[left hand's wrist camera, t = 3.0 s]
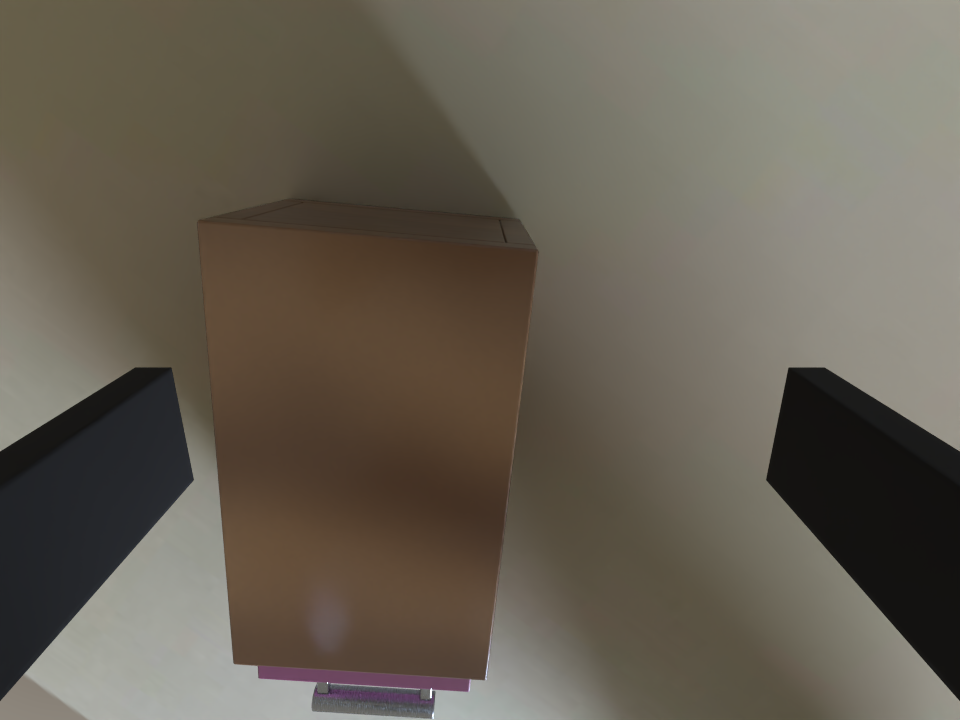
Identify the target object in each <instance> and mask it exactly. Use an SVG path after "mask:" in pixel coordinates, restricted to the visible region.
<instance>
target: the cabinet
mask: <svg viewBox="0 0 960 720" xmlns="http://www.w3.org/2000/svg"><path fill="white" fill-rule="evenodd" d="M197 226H198V238H199V250H200V262H201V274H202V286H203V299H204V311H205V323H206V335H207V347H208V359H209V371H210V383H211V396H212V408H213V420H214V432H215V444H216V456H217V468H218V480H219V492H220V505H221V517H222V529H223V541H224V553H225V565H226V577H227V589H228V601H229V614H230V626H231V638H232V650H233V662H234V664H239V665H255V666H270V667H286V668H302V669H317V670H333V671H348V672H364V673H379V674H395V675H410V676H426V677H441V678H457V679H472V680H486V679H487V673H488V664H489V656H490V648H491V640H492V632H493V623H494V615H495V607H496V599H497V590H498V582H499V574H500V566H501V557H502V549H503V541H504V533H505V524H506V516H507V508H508V500H509V491H510V483H511V475H512V467H513V458H514V450H515V442H516V434H517V426H518V417H519V409H520V401H521V393H522V384H523V376H524V368H525V360H526V351H527V343H528V335H529V327H530V318H531V310H532V302H533V294H534V285H535V277H536V269H537V261H538V249H537V248H536V246H535V244H534V243H533V241H532V239H531V238H530V236H529V234H528V233H527V231H526V229H525V228H524V226H523V224H522V223H521V221H520V220H519V219H511V218H500V217H489V216H477V215H466V214H455V213H444V212H432V211H421V210H410V209H398V208H387V207H376V206H365V205H353V204H342V203H331V202H320V201H308V200H297V199H286V200H282V201H277V202H273V203H269V204H265V205H260V206H256V207H252V208H248V209H243V210H239V211H235V212H231V213H227V214H222V215H218V216H214V217H210V218H206V219H201V220H198V222H197Z"/></svg>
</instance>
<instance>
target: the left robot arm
mask: <svg viewBox="0 0 960 720" xmlns="http://www.w3.org/2000/svg"><path fill="white" fill-rule="evenodd" d="M193 480H194V478H193V473H192V468H191V463H190V458H189V453H188V448H187V443H186V438H185V433H184V428H183V423H182V418H181V413H180V408H179V403H178V398H177V393H176V388H175V383H174V378H173V373H172V368H134V369H132V370H131V371H129V372H127V373H126V374H124V375H123V376H121V377H119V378H118V379H116V380H115V381H113V382H111V383H110V384H108V385H107V386H105V387H103V388H102V389H100V390H99V391H97V392H95V393H94V394H92V395H90V396H89V397H87V398H86V399H84V400H82V401H81V402H79V403H78V404H76V405H74V406H73V407H71V408H70V409H68V410H66V411H65V412H63V413H62V414H60V415H58V416H57V417H55V418H53V419H52V420H50V421H49V422H47V423H45V424H44V425H42V426H41V427H39V428H37V429H36V430H34V431H33V432H31V433H29V434H28V435H26V436H24V437H23V438H21V439H20V440H18V441H16V442H15V443H13V444H12V445H10V446H8V447H7V448H5V449H4V450H2V451H0V701H1V699H2V698H3V697H4V696H5V695H6V694H7V693H8V691H9V690H10V689H11V688H12V687H13V686H14V685H15V684H16V682H17V681H18V680H19V679H20V678H21V677H22V676H23V674H24V673H25V672H26V671H27V670H28V669H29V668H30V666H31V665H32V664H33V663H34V662H35V661H36V660H37V658H38V657H39V656H40V655H41V654H42V653H43V652H44V650H45V649H46V648H47V647H48V646H49V645H50V644H51V642H52V641H53V640H54V639H55V638H56V637H57V636H58V634H59V633H60V632H61V631H62V630H63V629H64V628H65V626H66V625H67V624H68V623H69V622H70V621H71V620H72V618H73V617H74V616H75V615H76V614H77V613H78V612H79V610H80V609H81V608H82V607H83V606H84V605H85V604H86V602H87V601H88V600H89V599H90V598H91V597H92V596H93V594H94V593H95V592H96V591H97V590H98V589H99V588H100V587H101V585H102V584H103V583H104V582H105V581H106V580H107V579H108V577H109V576H110V575H111V574H112V573H113V572H114V571H115V569H116V568H117V567H118V566H119V565H120V564H121V563H122V561H123V560H124V559H125V558H126V557H127V556H128V555H129V553H130V552H131V551H132V550H133V549H134V548H135V547H136V545H137V544H138V543H139V542H140V541H141V540H142V539H143V537H144V536H145V535H146V534H147V533H148V532H149V531H150V529H151V528H152V527H153V526H154V525H155V524H156V523H157V521H158V520H159V519H160V518H161V517H162V516H163V515H164V513H165V512H166V511H167V510H168V509H169V508H170V507H171V505H172V504H173V503H174V502H175V501H176V500H177V499H178V497H179V496H180V495H181V494H182V493H183V492H184V491H185V490H186V488H187V487H188V486H189V485H190V484H191V483H192V482H193ZM766 480H767V482H768V483H769V484H770V485H771V486H772V487H773V488H774V490H775V491H776V492H777V493H778V494H779V495H780V496H781V497H782V499H783V500H784V501H785V502H786V503H787V504H788V505H789V507H790V508H791V509H792V510H793V511H794V512H795V513H796V515H797V516H798V517H799V518H800V519H801V520H802V521H803V523H804V524H805V525H806V526H807V527H808V528H809V529H810V531H811V532H812V533H813V534H814V535H815V536H816V537H817V539H818V540H819V541H820V542H821V543H822V544H823V545H824V547H825V548H826V549H827V550H828V551H829V552H830V553H831V555H832V556H833V557H834V558H835V559H836V560H837V561H838V563H839V564H840V565H841V566H842V567H843V568H844V569H845V571H846V572H847V573H848V574H849V575H850V576H851V577H852V579H853V580H854V581H855V582H856V583H857V584H858V585H859V587H860V588H861V589H862V590H863V591H864V592H865V593H866V594H867V596H868V597H869V598H870V599H871V600H872V601H873V602H874V604H875V605H876V606H877V607H878V608H879V609H880V610H881V612H882V613H883V614H884V615H885V616H886V617H887V618H888V620H889V621H890V622H891V623H892V624H893V625H894V626H895V628H896V629H897V630H898V631H899V632H900V633H901V634H902V636H903V637H904V638H905V639H906V640H907V641H908V642H909V644H910V645H911V646H912V647H913V648H914V649H915V650H916V652H917V653H918V654H919V655H920V656H921V657H922V658H923V660H924V661H925V662H926V663H927V664H928V665H929V666H930V668H931V669H932V670H933V671H934V672H935V673H936V674H937V676H938V677H939V678H940V679H941V680H942V681H943V682H944V684H945V685H946V686H947V687H948V688H949V689H950V690H951V691H952V693H953V694H954V695H955V696H956V697H957V698H958V699H959V701H960V451H958V450H956V449H955V448H953V447H952V446H950V445H948V444H947V443H945V442H944V441H942V440H940V439H939V438H937V437H935V436H934V435H932V434H931V433H929V432H927V431H926V430H924V429H923V428H921V427H919V426H918V425H916V424H915V423H913V422H911V421H910V420H908V419H907V418H905V417H903V416H902V415H900V414H898V413H897V412H895V411H894V410H892V409H890V408H889V407H887V406H886V405H884V404H882V403H881V402H879V401H878V400H876V399H874V398H873V397H871V396H870V395H868V394H866V393H865V392H863V391H861V390H860V389H858V388H857V387H855V386H853V385H852V384H850V383H849V382H847V381H845V380H844V379H842V378H841V377H839V376H837V375H836V374H834V373H833V372H831V371H829V370H828V369H826V368H788V373H787V378H786V383H785V388H784V393H783V398H782V403H781V408H780V413H779V418H778V423H777V428H776V433H775V438H774V443H773V448H772V453H771V458H770V463H769V468H768V473H767V478H766Z"/></svg>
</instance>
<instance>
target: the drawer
mask: <svg viewBox="0 0 960 720" xmlns="http://www.w3.org/2000/svg"><path fill="white" fill-rule="evenodd" d="M258 676H259V678H260V679H275V680H291V681H307V682H317V685H316V687H315V690H314V694H313V699H312V711H317V712H333V713H349V714H365V715H381V716H397V717H413V718H429V719H433V716H434V704H435V691H432V690H448V691H464V692H469V690H470V682H471V679H457V678H441V677H426V676H410V675H395V674H379V673H364V672H348V671H333V670H317V669H302V668H286V667H270V666H258ZM331 683H338V684H354V685H370V686H385V687H401V688H417V689H420V690H413V689H397V688H381V687H366V686H350V685H334V684H331Z"/></svg>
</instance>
